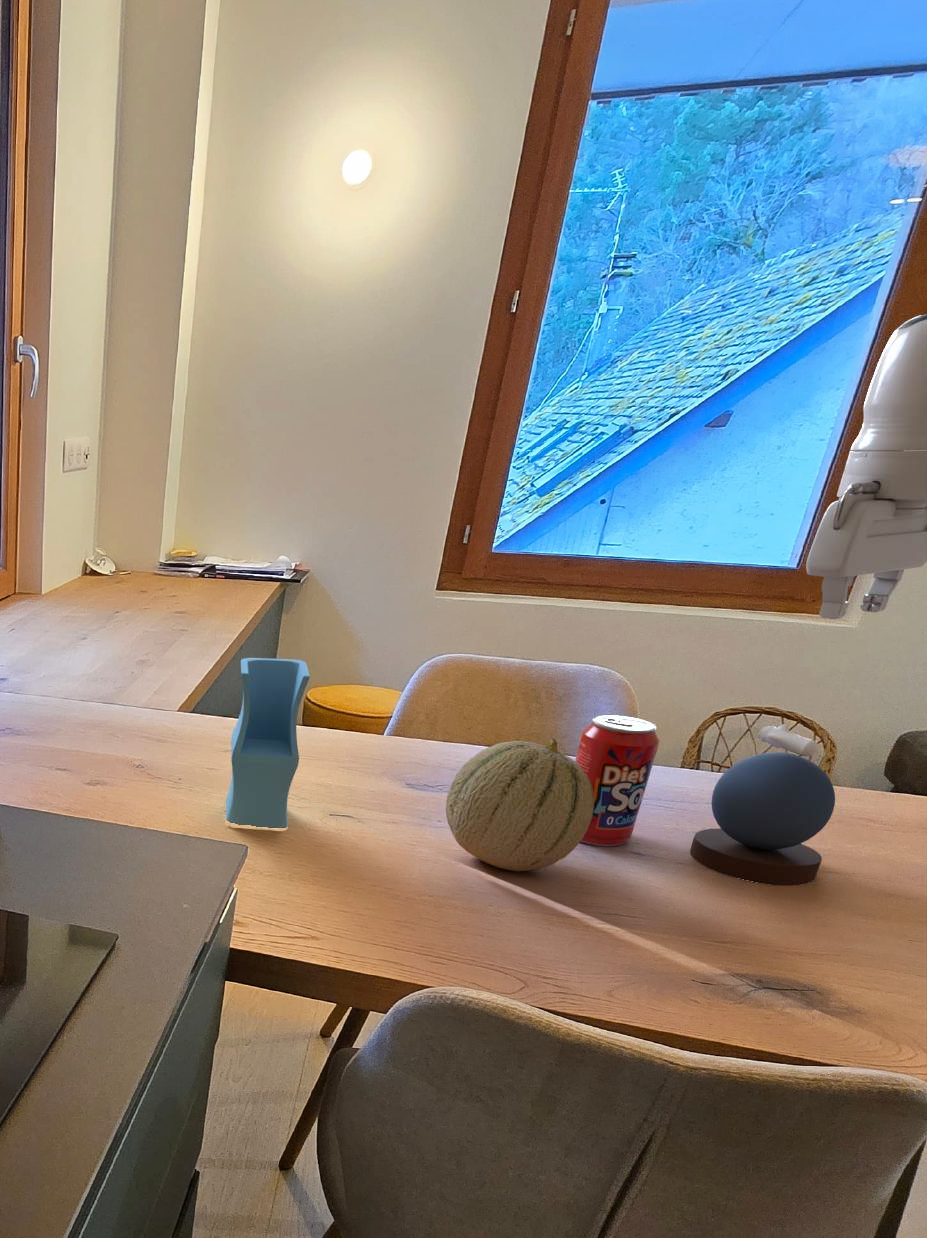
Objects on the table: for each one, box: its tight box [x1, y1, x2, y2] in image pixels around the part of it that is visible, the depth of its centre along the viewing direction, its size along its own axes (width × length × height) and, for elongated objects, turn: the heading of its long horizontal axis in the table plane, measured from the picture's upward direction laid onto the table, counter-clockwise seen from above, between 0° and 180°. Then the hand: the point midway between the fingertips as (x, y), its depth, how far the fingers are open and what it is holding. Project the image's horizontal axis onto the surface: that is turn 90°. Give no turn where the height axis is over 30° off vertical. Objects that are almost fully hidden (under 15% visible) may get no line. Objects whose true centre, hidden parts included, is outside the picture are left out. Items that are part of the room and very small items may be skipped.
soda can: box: [574, 714, 660, 847], centre depth 123 cm, size 8×8×15 cm
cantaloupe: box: [445, 737, 594, 872], centre depth 115 cm, size 15×15×15 cm
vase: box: [225, 657, 311, 828], centre depth 128 cm, size 8×8×20 cm
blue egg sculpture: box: [689, 751, 836, 887], centre depth 116 cm, size 12×12×14 cm
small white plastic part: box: [757, 723, 822, 758], centre depth 113 cm, size 4×6×3 cm, turn 0°
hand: (851, 614), depth 112 cm, fingers open, 8 cm apart
